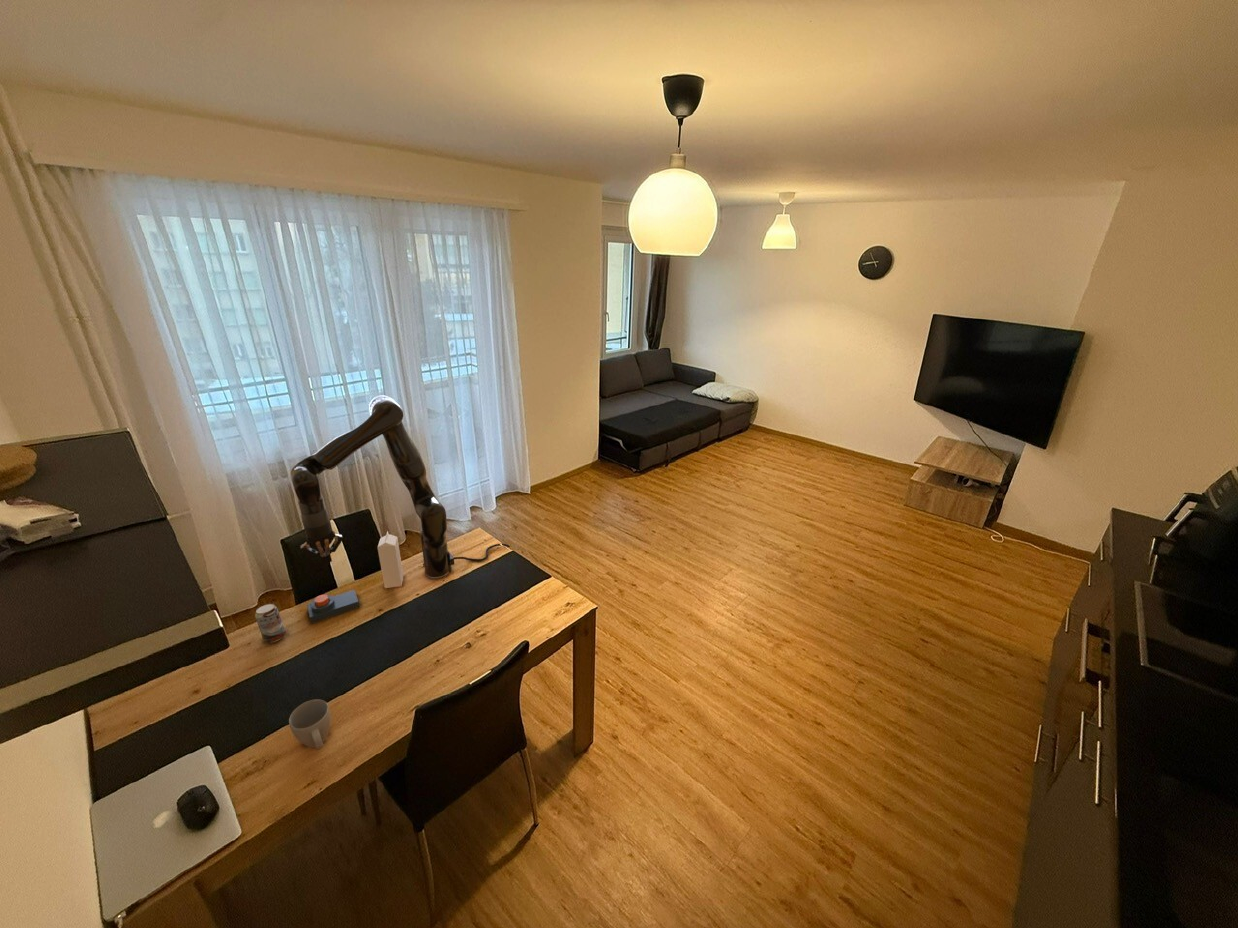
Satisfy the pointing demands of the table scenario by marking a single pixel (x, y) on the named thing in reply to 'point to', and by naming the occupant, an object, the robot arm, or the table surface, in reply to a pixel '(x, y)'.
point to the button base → (333, 606)
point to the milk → (390, 561)
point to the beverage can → (270, 623)
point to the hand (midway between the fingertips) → (327, 563)
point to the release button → (321, 600)
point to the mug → (311, 723)
